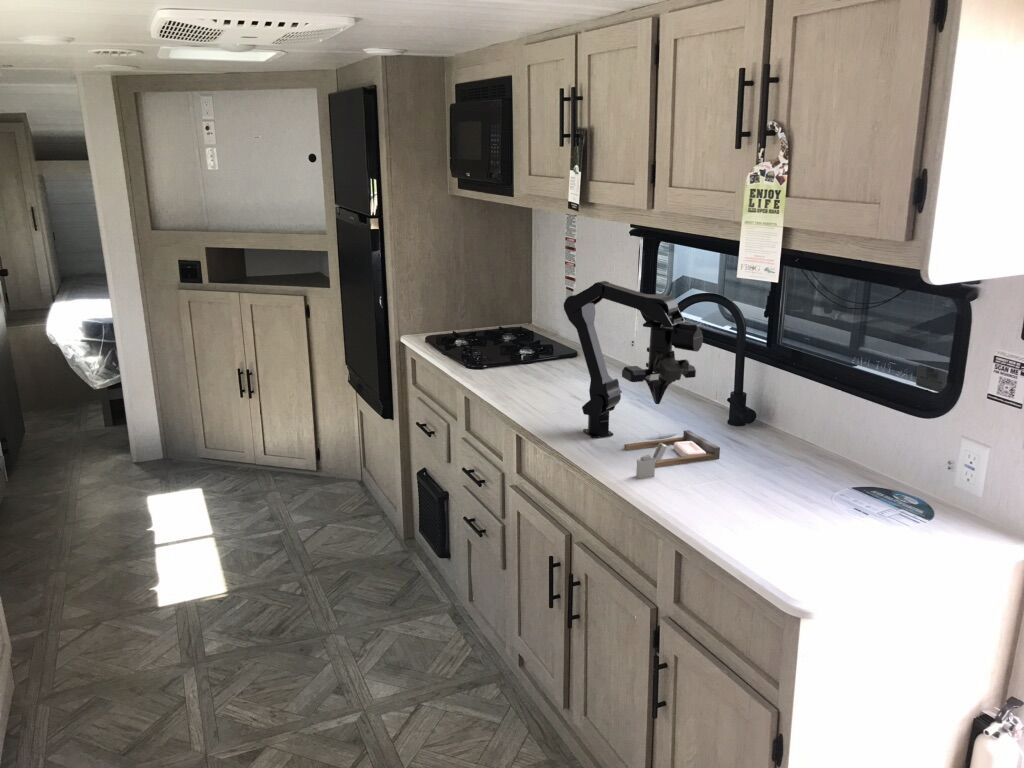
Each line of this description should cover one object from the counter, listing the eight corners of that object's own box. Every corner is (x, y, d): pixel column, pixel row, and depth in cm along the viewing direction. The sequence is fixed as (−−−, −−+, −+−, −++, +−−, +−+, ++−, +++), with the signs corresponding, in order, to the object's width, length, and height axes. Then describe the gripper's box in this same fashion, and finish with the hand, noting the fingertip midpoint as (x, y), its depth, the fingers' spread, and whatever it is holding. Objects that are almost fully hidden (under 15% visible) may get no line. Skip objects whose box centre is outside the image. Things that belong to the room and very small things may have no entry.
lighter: (638, 478, 205) (640, 446, 203) (635, 476, 207) (637, 444, 205) (665, 475, 208) (667, 444, 205) (662, 473, 209) (664, 441, 207)
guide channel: (624, 448, 226) (624, 437, 225) (687, 440, 232) (688, 430, 232) (652, 467, 212) (653, 456, 212) (719, 458, 219) (720, 447, 218)
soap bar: (692, 448, 227) (692, 440, 227) (706, 460, 219) (706, 451, 218) (672, 450, 226) (673, 441, 226) (686, 462, 218) (686, 453, 217)
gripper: (642, 355, 210) (638, 416, 214) (709, 350, 216) (704, 409, 220) (622, 345, 220) (619, 403, 224) (686, 340, 226) (682, 397, 230)
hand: (657, 403), depth 225 cm, fingers closed
